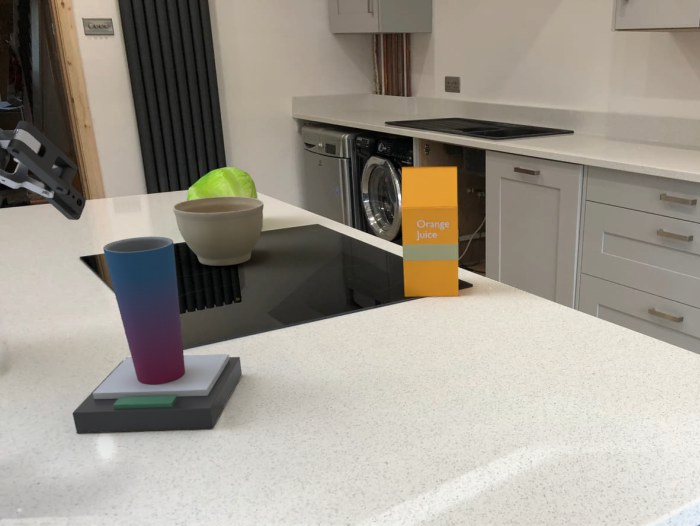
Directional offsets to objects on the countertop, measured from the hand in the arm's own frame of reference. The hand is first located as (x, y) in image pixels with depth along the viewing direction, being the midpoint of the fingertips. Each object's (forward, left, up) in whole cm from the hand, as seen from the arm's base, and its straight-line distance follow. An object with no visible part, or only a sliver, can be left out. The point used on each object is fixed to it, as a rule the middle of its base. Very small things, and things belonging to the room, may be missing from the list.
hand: (36, 209), depth 65 cm
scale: (+5, +10, -24) cm, 26 cm away
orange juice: (+36, +50, -24) cm, 66 cm away
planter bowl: (-3, +72, -24) cm, 76 cm away
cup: (+5, +10, -21) cm, 23 cm away
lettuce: (-9, +100, -24) cm, 103 cm away
